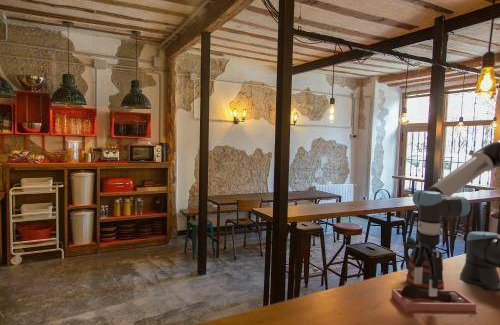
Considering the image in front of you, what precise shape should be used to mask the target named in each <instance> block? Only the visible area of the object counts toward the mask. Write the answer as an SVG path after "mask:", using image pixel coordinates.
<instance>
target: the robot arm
mask: <svg viewBox="0 0 500 325" xmlns="http://www.w3.org/2000/svg"><path fill="white" fill-rule="evenodd" d="M499 167H500V140H496V141H494V142H491V143H489V144H487V145H485V146H483V147H481V148H480V149H478V150H476V151H475V152H474V153H472V155H471V158H470V159H468V160H466V161H465V162H464V163H462V164H461V165H460V166H458V167H457V168H455V169H454V170H453V171H451V172H449V174H447V175H446V176H444V177H443V178H441V179H440V180H438V181H437V182H436V183H434V184H433V185H432V186H430V187H429V188H427V189H426V190H423V189H420V190H416V191H415V192H414V193H413V195H412V202H413V205H414V206H416V207H418V218H417V220H418V221H417V230H418V231H417V236H416V240H415V241H416V242H415V250H414V254H413V258H412V263H414V266H415V277H414V284H422V272H423V268H422V267H423V265H422V264H423V262H424V260H425V258H426V260H427V261H428V265H429V269H430V274H431V278H429V279H430V281H429V296H437V289H438V280H443V281H444V278H443V276H442V274H443V271H442V265H441V253H442V252H441V251H439V252H437V251H438V250H437V245H439V244H440V240H441V239H440V238H441V237H440V236H441V235H440V233H441V226H442V225H441V223H442V222H441V221H442V218H443V217H446V218H447V217H457V218H459V217H465V216H467V215H468V214H469V213H470V211H471V203H470V201H469V199H468V198H466V197H464V196H458V195H457V196H453V195H454V194H456V193H457V192H458V191H460V190H461V189H462V188H464V187H465V186H467V185H469V183H471V182H472V181H473V180H475V179H476V178H478V177H479V176H481V175H483V174H484V173H485V172H491V171H492V170H494V169H495V168H499ZM466 236H467V237H466V244H465V245H466V247H465V263H464V265H463V267H462V269H461V272H460V274H459V280H460V281H463V282H465V283H468V284H469V285H473V286H477V287H479V288H481V289H482V290H486V291H488V290H489V291H497V290H499V289H500V276H499V273H498V268H499V269H500V234H499V233H496V232H491V231H489V232H488V231H470V232H468V233H467V235H466ZM436 250H437V251H436ZM432 257H433V258H432Z"/></svg>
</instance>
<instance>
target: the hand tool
mask: <svg viewBox="0 0 500 325" xmlns="http://www.w3.org/2000/svg"><path fill="white" fill-rule="evenodd" d="M402 289H403V290H402V292H401V295H402V296H404V297H408V298H412V299H417V298H423V299H430V300H437V301H442V302H443V301H444V302H446V303H450V302H451V295H450V294H449V292H439V291H437V296H429V290H423V289H419V288H418V287H416V286H410V285H406V284H405V286H404V287H403V288H402Z"/></svg>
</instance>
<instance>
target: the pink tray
mask: <svg viewBox="0 0 500 325" xmlns="http://www.w3.org/2000/svg"><path fill="white" fill-rule="evenodd" d="M402 290H403V288H392V289H391V299H392V300H393V301H394V302H395V303H396V305H398V306H399V307H400V308H401V309H402V311H404V313H406V314H416V312H415V311H423V312H424V311H426V312H427V311H429V312H430V311H432V312H433V311H434V312H435V311H437V312H442V311H443V312H455V311H456V312H477V304H476V303H475V302H474V301H472V300H470V299H469V298H468V297H467V296H466V295H464V294H462V293H461V292H459V291H458V290H456V289H444V290H437V291H439V292H449V293H451V292H454V293H456V294H457V295H458V298H462V299H463V300H464V302H465V303H456V302H455V301H452V300H451V302H450V303H446V302H444V301H443V302H442V301H437V300H430V299H423V298H417V299H412V298H408V297H404V296H402V295H401V292H402ZM423 290H426V289H423Z"/></svg>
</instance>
